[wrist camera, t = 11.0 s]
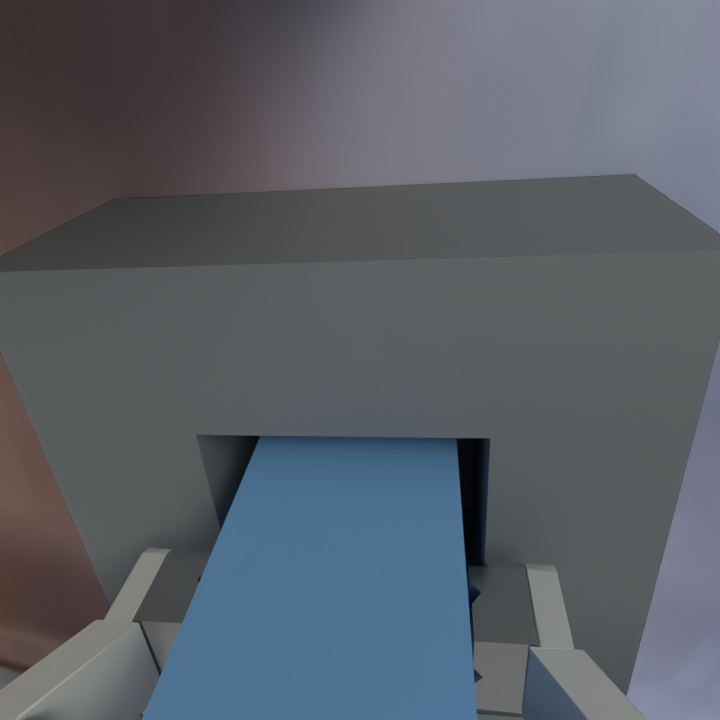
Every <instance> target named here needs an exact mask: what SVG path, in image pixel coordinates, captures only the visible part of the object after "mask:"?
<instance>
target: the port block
mask: <svg viewBox="0 0 720 720" xmlns="http://www.w3.org/2000/svg"><path fill="white" fill-rule="evenodd" d="M719 339H720V233H718V232H717V231H715V230H714V229H713V228H711V227H710V226H708V225H707V224H705V223H704V222H703V221H701V220H700V219H698V218H697V217H695V216H694V215H692V214H691V213H690V212H688V211H687V210H685V209H684V208H682V207H681V206H680V205H678V204H677V203H675V202H674V201H672V200H671V199H670V198H668V197H667V196H665V195H664V194H662V193H661V192H659V191H658V190H657V189H655V188H654V187H652V186H651V185H649V184H648V183H647V182H645V181H644V180H642V179H641V178H639V177H638V176H636V175H635V174H631V175H610V176H589V177H568V178H547V179H526V180H506V181H485V182H464V183H443V184H422V185H401V186H380V187H359V188H339V189H318V190H297V191H276V192H255V193H234V194H213V195H193V196H172V197H151V198H130V199H113V200H111V201H109V202H107V203H105V204H103V205H101V206H99V207H97V208H95V209H93V210H91V211H89V212H87V213H85V214H83V215H81V216H79V217H77V218H75V219H73V220H71V221H69V222H67V223H65V224H63V225H61V226H59V227H57V228H55V229H53V230H51V231H49V232H47V233H45V234H43V235H41V236H39V237H37V238H35V239H33V240H31V241H29V242H27V243H25V244H23V245H21V246H19V247H17V248H15V249H13V250H11V251H9V252H7V253H5V254H3V255H1V256H0V352H1V355H2V357H3V359H4V362H5V364H6V366H7V369H8V371H9V373H10V376H11V378H12V380H13V383H14V385H15V387H16V390H17V392H18V394H19V397H20V399H21V401H22V404H23V406H24V408H25V411H26V413H27V415H28V418H29V420H30V422H31V425H32V427H33V429H34V432H35V434H36V436H37V439H38V441H39V443H40V446H41V448H42V450H43V453H44V455H45V457H46V460H47V462H48V464H49V467H50V469H51V471H52V474H53V476H54V478H55V481H56V483H57V485H58V488H59V490H60V492H61V495H62V497H63V499H64V502H65V504H66V506H67V509H68V511H69V513H70V516H71V518H72V520H73V523H74V525H75V527H76V530H77V532H78V534H79V537H80V539H81V541H82V543H83V546H84V548H85V550H86V553H87V555H88V557H89V560H90V562H91V564H92V567H93V569H94V571H95V574H96V576H97V578H98V581H99V583H100V585H101V588H102V590H103V592H104V595H105V597H106V599H107V602H108V604H109V606H110V608H111V606H112V604H113V602H114V601H115V599H116V597H117V595H118V594H119V592H120V590H121V589H122V587H123V585H124V583H125V582H126V580H127V578H128V576H129V575H130V573H131V571H132V570H133V568H134V566H135V564H136V563H137V561H138V559H139V557H140V556H141V554H142V553H143V552H144V551H146V550H147V549H148V548H165V549H183V550H197V551H211V552H212V551H213V548H214V546H215V543H216V541H217V539H218V536H219V534H220V532H221V529H222V527H223V524H224V522H225V520H226V517H227V515H228V512H229V510H230V508H231V505H232V503H233V500H234V498H235V496H236V493H237V491H238V488H239V486H240V484H241V481H242V479H243V476H244V474H245V472H246V469H247V467H248V464H249V462H250V460H251V457H252V455H253V452H254V450H255V448H256V445H257V443H258V441H259V438H260V436H332V437H413V438H456V439H457V452H458V466H459V479H460V493H461V507H462V520H463V534H464V547H465V561H466V574H467V588H468V565H469V562H487V563H520V564H524V565H525V564H536V565H553V566H554V567H555V569H556V570H557V574H558V579H559V583H560V588H561V592H562V596H563V601H564V605H565V610H566V614H567V619H568V623H569V627H570V632H571V636H572V641H573V645H574V649H578V650H584V651H585V652H586V653H587V654H588V656H589V657H590V658H591V659H592V660H593V661H594V662H595V663H596V664H597V665H598V667H599V668H600V669H601V670H602V671H603V672H604V673H605V674H606V675H607V676H608V678H609V679H610V680H611V681H612V682H613V683H614V684H615V685H616V686H617V687H618V689H619V690H620V691H621V692H622V693H623V694H624V695H625V696H626V695H627V691H628V687H629V684H630V680H631V676H632V672H633V668H634V664H635V661H636V657H637V653H638V649H639V645H640V641H641V638H642V634H643V630H644V626H645V622H646V618H647V615H648V611H649V607H650V603H651V599H652V595H653V592H654V588H655V584H656V580H657V576H658V573H659V569H660V565H661V561H662V557H663V553H664V550H665V546H666V542H667V538H668V534H669V530H670V527H671V523H672V519H673V515H674V511H675V507H676V504H677V500H678V496H679V492H680V488H681V484H682V481H683V477H684V473H685V469H686V465H687V461H688V458H689V454H690V450H691V446H692V442H693V438H694V435H695V431H696V427H697V423H698V419H699V416H700V412H701V408H702V404H703V400H704V396H705V393H706V389H707V385H708V381H709V377H710V373H711V370H712V366H713V362H714V358H715V354H716V350H717V347H718V343H719ZM468 592H469V588H468ZM146 709H147V708H146ZM146 709H145V710H144V711H143V712H142V714H143V716H144V714H145V711H146ZM476 710H477V720H524V719H523V717H522V714H520V713H510V712H501V711H491V710H482V709H476Z"/></svg>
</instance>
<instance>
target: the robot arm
mask: <svg viewBox="0 0 720 720" xmlns="http://www.w3.org/2000/svg"><path fill="white" fill-rule="evenodd" d="M211 553H212V552H211V551H197V550H183V549H165V548H148V549H147V550H146V551H144V552H143V553H142V554H141V556H140V557H139V559H138V561H137V563H136V564H135V566H134V568H133V570H132V571H131V573H130V575H129V576H128V578H127V580H126V582H125V583H124V585H123V587H122V589H121V590H120V592H119V594H118V595H117V597H116V599H115V601H114V602H113V604H112V606H111V608H110V609H109V611H108V613H107V614H106V616H105V618H104V620H95V621H94V622H92V623H91V624H89V625H88V626H87V627H85V628H84V629H83V630H81V631H80V632H79V633H77V634H76V635H74V636H73V637H72V638H70V639H69V640H68V641H66V642H65V643H64V644H62V645H61V646H59V647H58V648H57V649H55V650H54V651H53V652H51V653H50V654H49V655H47V656H46V657H44V658H43V659H42V660H40V661H39V662H38V663H36V664H35V665H34V666H32V667H31V668H29V669H28V670H27V671H25V672H24V673H23V674H21V675H20V676H19V677H17V678H16V679H14V680H13V681H12V682H10V683H9V684H8V685H6V686H5V687H4V688H2V689H1V690H0V720H136V719H137V718H138V716H139V715H140V714H141V713H142V712H143V711H144V710H145V709H146V708H147V706H148V704H149V702H150V699H151V697H152V694H153V692H154V690H155V687H156V685H157V682H158V680H159V678H160V675H161V673H162V670H163V668H164V666H165V663H166V661H167V658H168V656H169V654H170V651H171V649H172V646H173V644H174V642H175V639H176V637H177V635H178V632H179V630H180V627H181V625H182V623H183V620H184V618H185V615H186V613H187V611H188V608H189V606H190V603H191V601H192V599H193V596H194V594H195V591H196V589H197V587H198V584H199V582H200V579H201V577H202V575H203V572H204V570H205V567H206V565H207V563H208V560H209V558H210V555H211ZM468 588H469V592H468V601H469V615H470V629H471V642H472V656H473V669H474V683H475V696H476V709H482V710H491V711H501V712H510V713H520V714H522V717H523V719H524V720H647V719H646V718H645V717H644V716H643V715H642V714H641V713H640V712H639V710H638V709H637V708H636V707H635V706H634V705H633V704H632V703H631V702H630V701H629V699H628V698H627V697H626V696H625V695H624V694H623V693H622V692H621V691H620V690H619V689H618V687H617V686H616V685H615V684H614V683H613V682H612V681H611V680H610V679H609V678H608V676H607V675H606V674H605V673H604V672H603V671H602V670H601V669H600V668H599V667H598V665H597V664H596V663H595V662H594V661H593V660H592V659H591V658H590V657H589V656H588V654H587V653H586V652H585V651H584V650H578V649H574V645H573V641H572V636H571V632H570V627H569V623H568V619H567V614H566V610H565V605H564V601H563V596H562V592H561V588H560V583H559V579H558V574H557V570H556V569H555V567H554V566H553V565H536V564H525V565H524V564H520V563H487V562H469V565H468Z"/></svg>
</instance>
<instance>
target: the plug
mask: <svg viewBox="0 0 720 720" xmlns="http://www.w3.org/2000/svg"><path fill="white" fill-rule="evenodd" d="M142 720H477V710H476V696H475V683H474V669H473V656H472V642H471V629H470V615H469V601H468V588H467V574H466V561H465V547H464V534H463V520H462V507H461V493H460V479H459V466H458V452H457V439H456V438H413V437H332V436H260V438H259V441H258V443H257V445H256V448H255V450H254V452H253V455H252V457H251V460H250V462H249V464H248V467H247V469H246V472H245V474H244V476H243V479H242V481H241V484H240V486H239V488H238V491H237V493H236V496H235V498H234V500H233V503H232V505H231V508H230V510H229V512H228V515H227V517H226V520H225V522H224V524H223V527H222V529H221V532H220V534H219V536H218V539H217V541H216V543H215V546H214V548H213V551H212V553H211V555H210V558H209V560H208V563H207V565H206V567H205V570H204V572H203V575H202V577H201V579H200V582H199V584H198V587H197V589H196V591H195V594H194V596H193V599H192V601H191V603H190V606H189V608H188V611H187V613H186V615H185V618H184V620H183V623H182V625H181V627H180V630H179V632H178V635H177V637H176V639H175V642H174V644H173V646H172V649H171V651H170V654H169V656H168V658H167V661H166V663H165V666H164V668H163V670H162V673H161V675H160V678H159V680H158V682H157V685H156V687H155V690H154V692H153V694H152V697H151V699H150V702H149V704H148V706H147V709H146V711H145V714H144V716H143V718H142Z"/></svg>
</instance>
